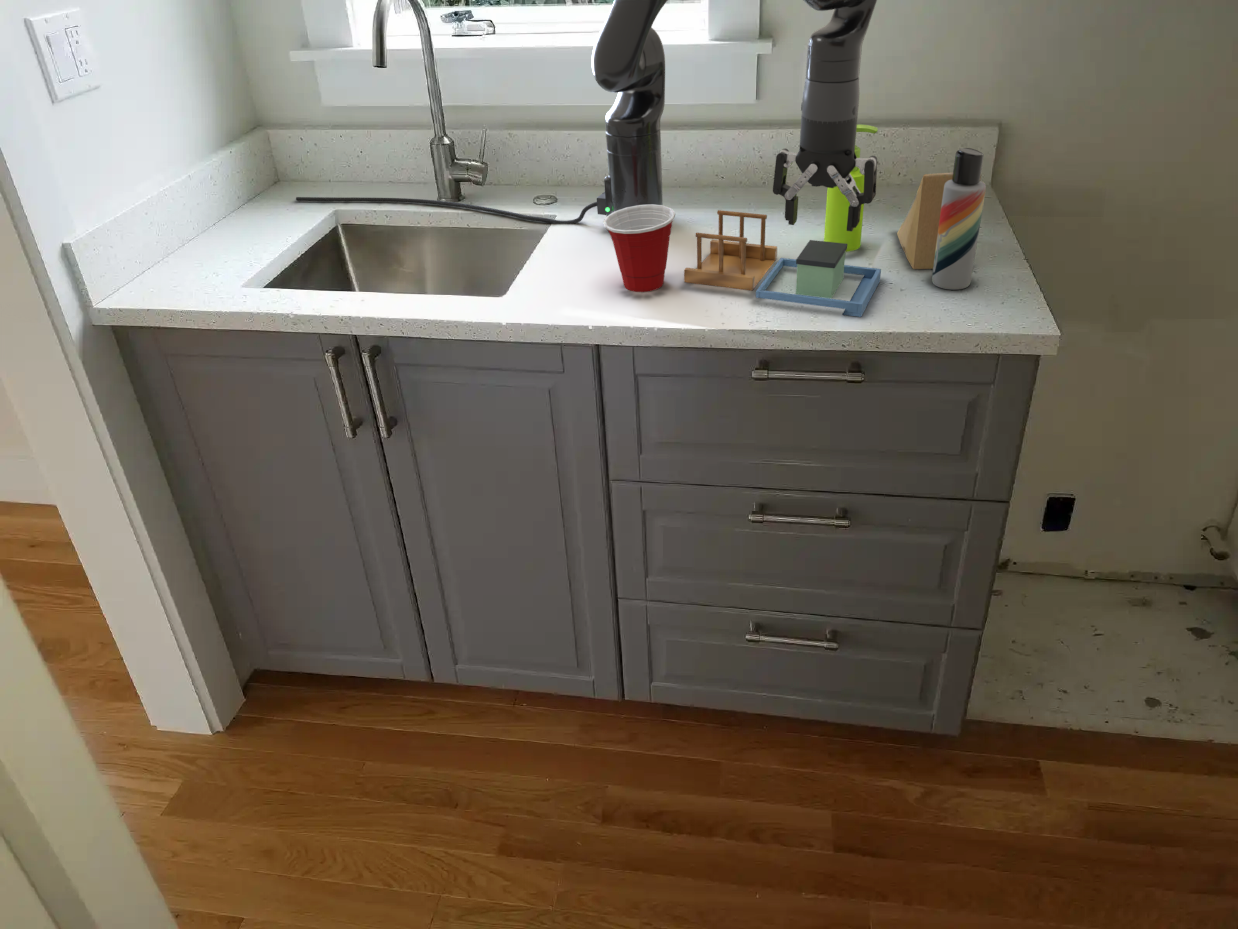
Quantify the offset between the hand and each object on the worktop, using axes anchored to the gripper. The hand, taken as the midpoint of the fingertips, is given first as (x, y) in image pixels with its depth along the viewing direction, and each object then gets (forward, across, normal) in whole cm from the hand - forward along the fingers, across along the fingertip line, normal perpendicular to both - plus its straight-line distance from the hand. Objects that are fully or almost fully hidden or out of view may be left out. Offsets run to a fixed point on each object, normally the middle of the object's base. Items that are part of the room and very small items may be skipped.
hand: (821, 226), depth 141 cm
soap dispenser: (+10, 0, -17) cm, 20 cm away
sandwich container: (+10, -13, -21) cm, 27 cm away
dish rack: (+10, +14, -2) cm, 18 cm away
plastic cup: (+11, +26, +7) cm, 29 cm away
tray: (+10, 0, 0) cm, 10 cm away
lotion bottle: (+10, -18, -9) cm, 23 cm away
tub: (+10, 0, 0) cm, 10 cm away
